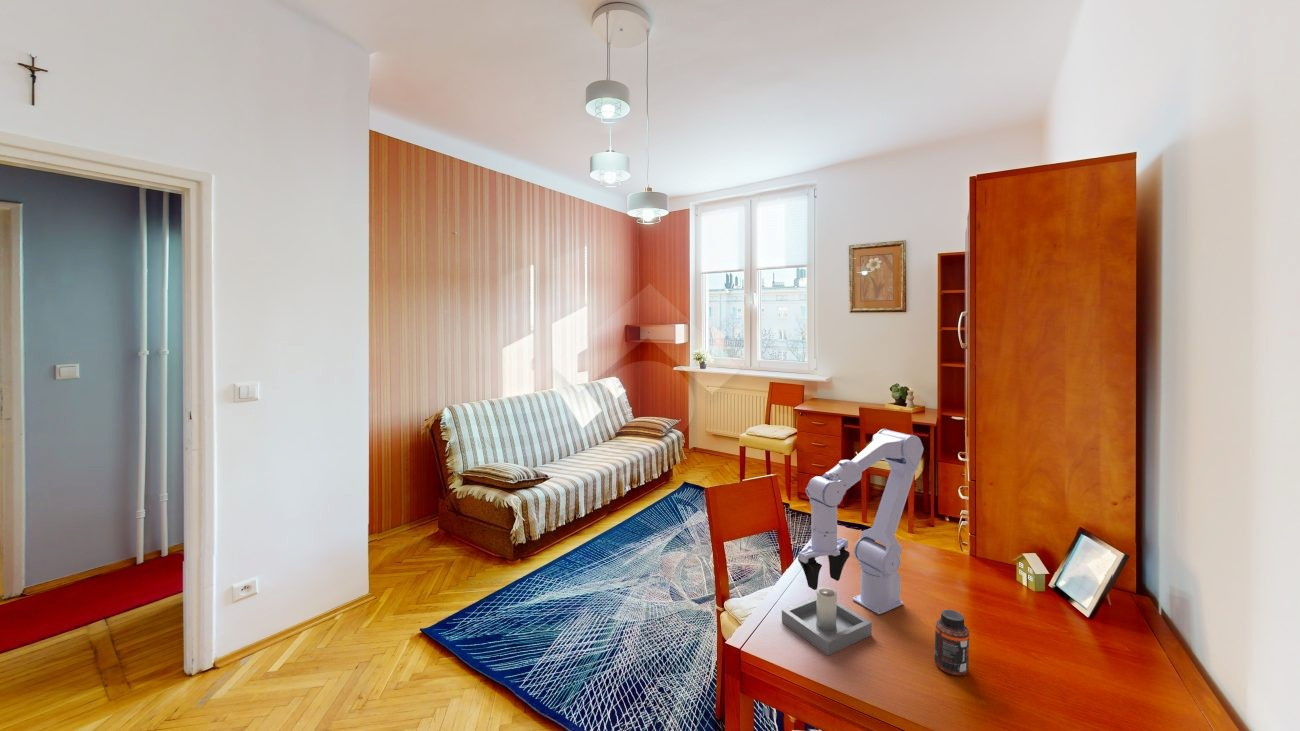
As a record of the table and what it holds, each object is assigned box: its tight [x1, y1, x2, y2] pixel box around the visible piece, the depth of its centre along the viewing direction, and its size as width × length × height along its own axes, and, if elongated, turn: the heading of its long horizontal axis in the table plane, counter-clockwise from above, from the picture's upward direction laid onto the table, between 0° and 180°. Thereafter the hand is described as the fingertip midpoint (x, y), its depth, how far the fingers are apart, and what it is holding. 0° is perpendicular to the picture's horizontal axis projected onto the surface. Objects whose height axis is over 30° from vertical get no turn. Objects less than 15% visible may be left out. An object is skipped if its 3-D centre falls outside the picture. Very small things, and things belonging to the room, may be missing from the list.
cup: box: [816, 587, 838, 631], centre depth 115 cm, size 4×4×8 cm
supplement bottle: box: [934, 609, 970, 676], centre depth 101 cm, size 6×6×11 cm
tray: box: [781, 595, 873, 656], centre depth 115 cm, size 14×14×3 cm
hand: (823, 583), depth 118 cm, fingers open, 7 cm apart
